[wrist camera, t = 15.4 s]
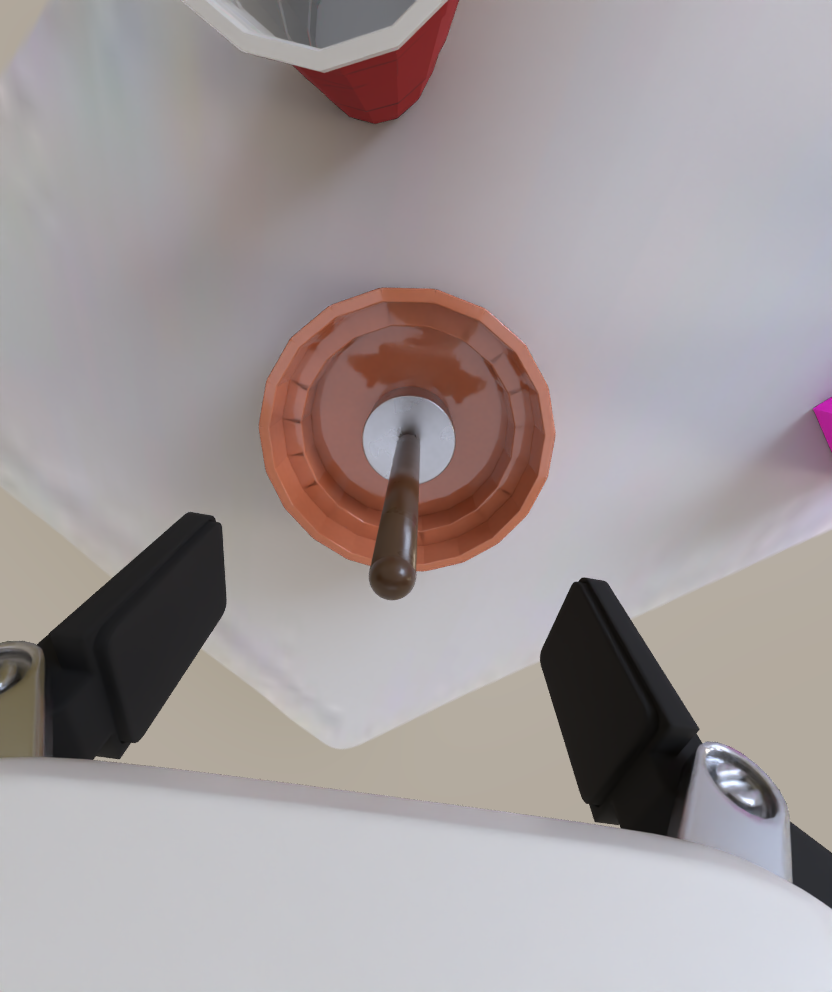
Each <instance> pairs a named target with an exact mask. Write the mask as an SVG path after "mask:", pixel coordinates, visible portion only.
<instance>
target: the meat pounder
mask: <svg viewBox="0 0 832 992" xmlns="http://www.w3.org/2000/svg"><path fill="white" fill-rule="evenodd" d="M362 446H363V451H364V454H365V457H366V459H367V461H368V462H369V464H370V465H371V467H372V468H373V469H374V470H375V471H376V472H377V473H378V474H379V475H380V476H382V477H383V478H385V479H387V480H389V481H388V486H387V491H386V496H385V500H384V505H383V510H382V514H381V519H380V524H379V528H378V533H377V538H376V543H375V547H374V552H373V557H372V561H371V566H370V571H369V582H370V585H371V587H372V589H373V591H374V592H375V593H376V594H377V595H378V596H380V597H381V598H384V599H387V600H398V599H401V598H403V597H405V596H406V595H407V594H409V593H410V592H411V590H412V588H413V587H414V584H415V581H416V564H417V534H418V504H419V484H422V483H425V482H428V481H430V480H432V479H434V478H436V477H437V476H438V475H440V474H441V473H442V472H443V471H444V470H445V469H446V468H447V466H448V465H449V463H450V462H451V459H452V457H453V455H454V451H455V446H456V436H455V430H454V426H453V422H452V418H451V415H450V412H449V410H448V408H447V406H446V405H445V404H444V402H443V401H442V400H441V399H440V398H439V397H438V396H436V395H435V394H434V393H432V392H430V391H428V390H426V389H423V388H419V387H400V388H397V389H394V390H392V391H390V392H388V393H386V394H385V395H384V396H382V397H381V398H380V399H379V400H378V401H377V402H376V404H375V405H374V407H373V409H372V411H371V412H370V414H369V416H368V418H367V420H366V422H365V425H364V428H363V433H362Z"/></svg>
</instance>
